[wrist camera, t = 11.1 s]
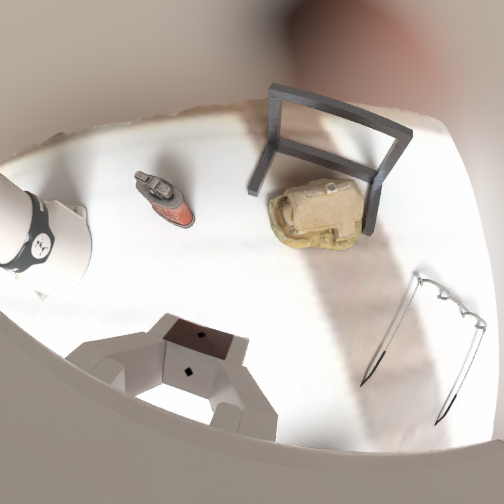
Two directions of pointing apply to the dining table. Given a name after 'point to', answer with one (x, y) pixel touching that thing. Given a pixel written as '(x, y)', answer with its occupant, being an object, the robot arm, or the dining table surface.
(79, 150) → the dining table surface
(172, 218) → the lighter
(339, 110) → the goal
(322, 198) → the ceramic model
